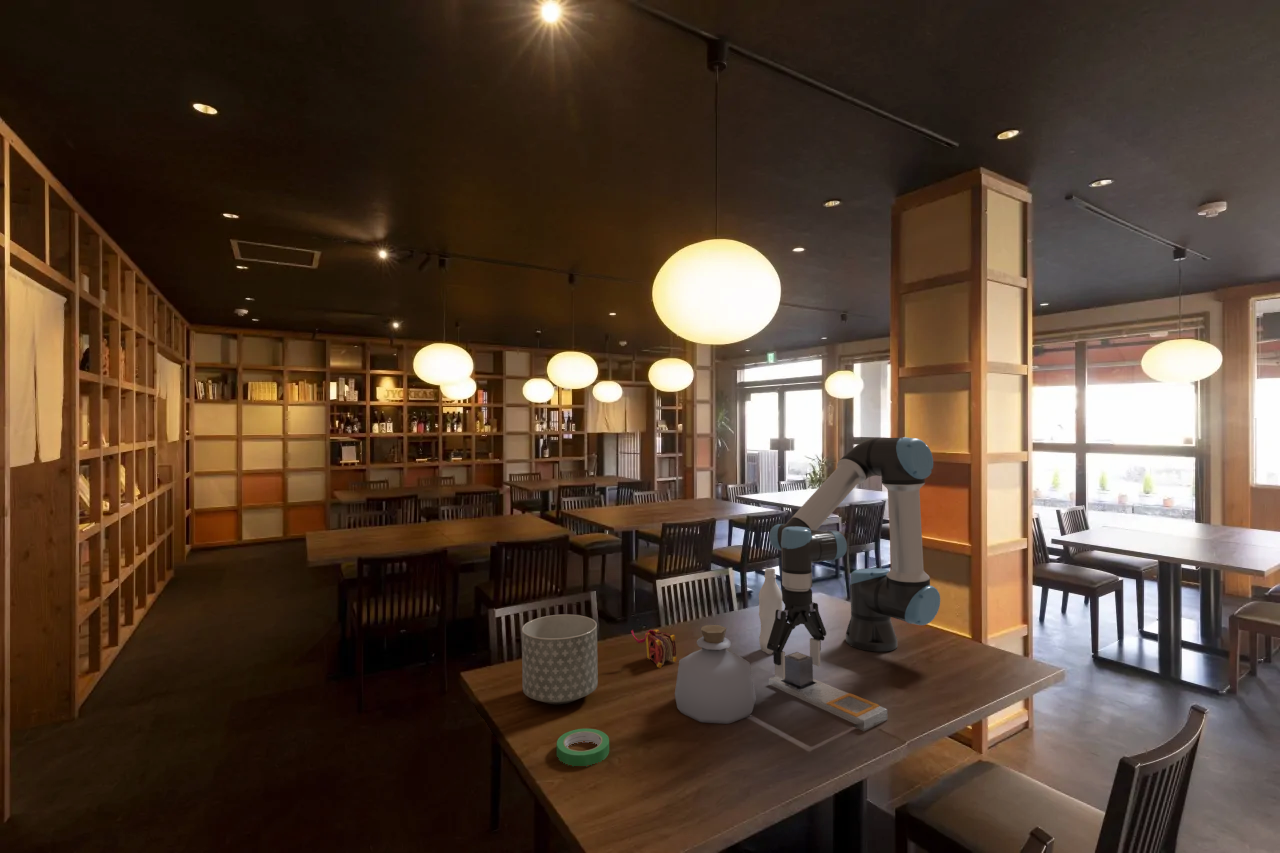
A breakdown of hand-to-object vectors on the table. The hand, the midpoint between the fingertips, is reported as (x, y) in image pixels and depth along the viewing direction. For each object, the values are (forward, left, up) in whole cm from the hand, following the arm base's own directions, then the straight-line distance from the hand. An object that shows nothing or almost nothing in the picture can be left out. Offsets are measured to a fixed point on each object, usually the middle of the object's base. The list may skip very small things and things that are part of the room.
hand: (798, 670), depth 150 cm
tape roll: (+59, -8, -6) cm, 60 cm away
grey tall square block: (0, 0, -5) cm, 5 cm away
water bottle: (-15, -23, -6) cm, 28 cm away
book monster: (+19, -38, -6) cm, 43 cm away
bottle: (+23, -7, -6) cm, 25 cm away
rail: (0, +8, -5) cm, 10 cm away
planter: (+51, -34, -6) cm, 61 cm away
